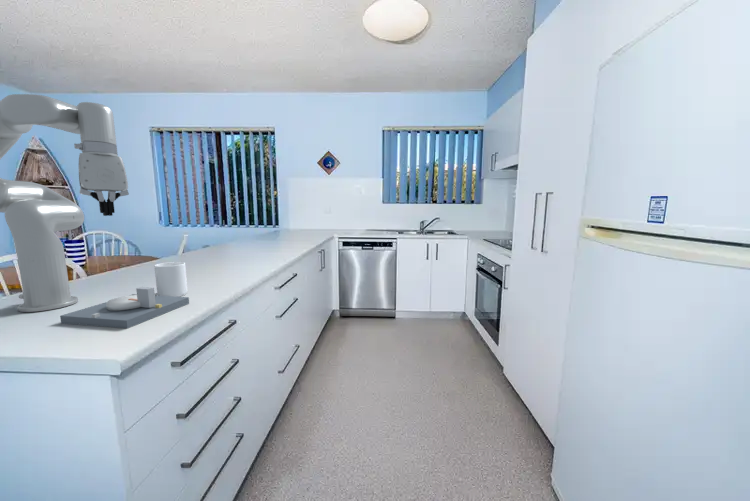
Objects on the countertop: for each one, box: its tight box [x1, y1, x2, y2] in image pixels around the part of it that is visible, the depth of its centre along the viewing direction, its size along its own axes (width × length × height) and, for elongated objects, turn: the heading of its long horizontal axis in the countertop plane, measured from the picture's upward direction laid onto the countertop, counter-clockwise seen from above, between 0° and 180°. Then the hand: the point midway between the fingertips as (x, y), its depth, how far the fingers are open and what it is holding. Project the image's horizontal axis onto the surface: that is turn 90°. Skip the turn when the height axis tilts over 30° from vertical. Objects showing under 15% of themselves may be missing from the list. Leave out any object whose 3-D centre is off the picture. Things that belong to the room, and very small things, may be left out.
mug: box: [153, 261, 188, 297], centre depth 105 cm, size 9×12×11 cm
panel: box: [59, 293, 190, 329], centre depth 87 cm, size 20×20×3 cm
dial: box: [105, 286, 156, 311], centre depth 86 cm, size 13×10×5 cm
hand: (107, 215), depth 90 cm, fingers closed
